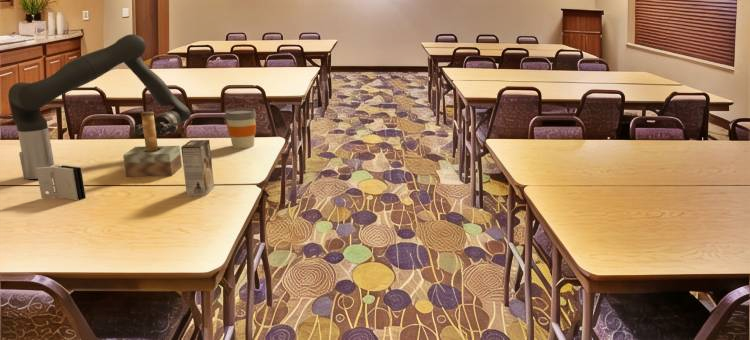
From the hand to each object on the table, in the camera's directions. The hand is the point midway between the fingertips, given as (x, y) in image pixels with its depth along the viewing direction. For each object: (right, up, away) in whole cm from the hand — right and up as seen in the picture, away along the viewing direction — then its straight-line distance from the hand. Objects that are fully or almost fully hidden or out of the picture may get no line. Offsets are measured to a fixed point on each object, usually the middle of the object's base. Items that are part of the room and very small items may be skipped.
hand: (149, 132), depth 206 cm
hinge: (-18, -22, -23) cm, 37 cm away
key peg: (0, -9, +3) cm, 10 cm away
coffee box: (+24, -20, -20) cm, 37 cm away
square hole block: (0, -14, +4) cm, 15 cm away
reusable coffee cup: (+24, -3, +40) cm, 47 cm away
